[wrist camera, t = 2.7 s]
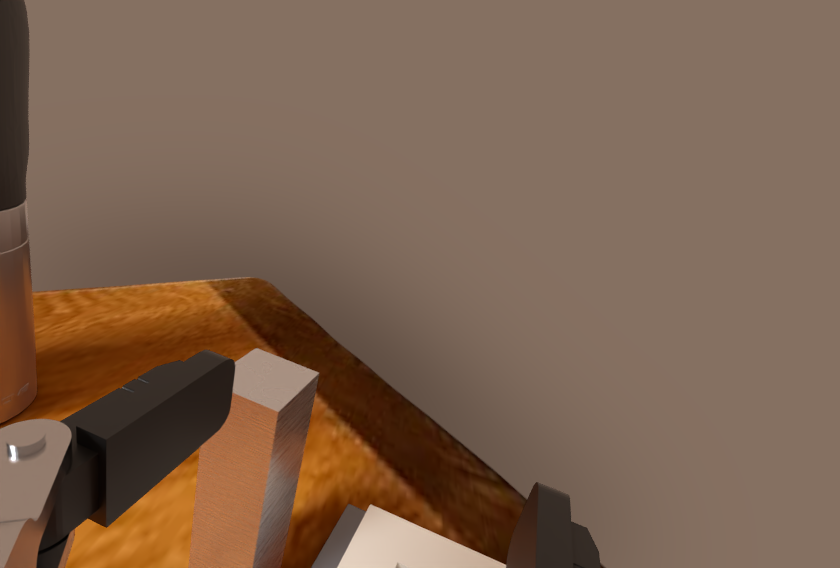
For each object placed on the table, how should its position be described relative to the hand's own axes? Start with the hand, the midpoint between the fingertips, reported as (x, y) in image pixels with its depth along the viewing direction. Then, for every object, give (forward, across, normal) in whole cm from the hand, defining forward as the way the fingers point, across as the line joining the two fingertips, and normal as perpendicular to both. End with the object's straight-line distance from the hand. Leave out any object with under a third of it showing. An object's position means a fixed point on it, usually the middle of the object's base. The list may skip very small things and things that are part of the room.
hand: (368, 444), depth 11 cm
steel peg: (+9, +8, +23) cm, 26 cm away
